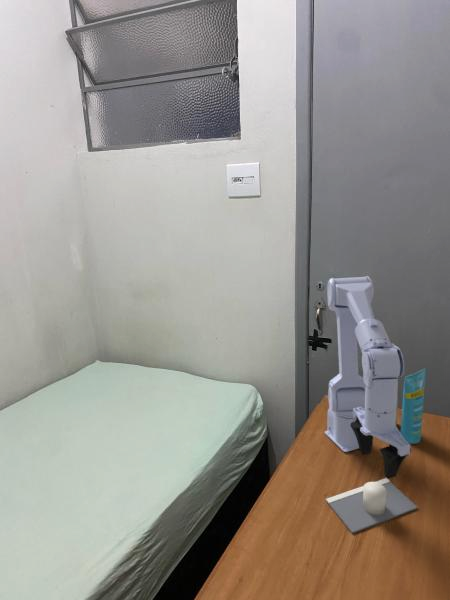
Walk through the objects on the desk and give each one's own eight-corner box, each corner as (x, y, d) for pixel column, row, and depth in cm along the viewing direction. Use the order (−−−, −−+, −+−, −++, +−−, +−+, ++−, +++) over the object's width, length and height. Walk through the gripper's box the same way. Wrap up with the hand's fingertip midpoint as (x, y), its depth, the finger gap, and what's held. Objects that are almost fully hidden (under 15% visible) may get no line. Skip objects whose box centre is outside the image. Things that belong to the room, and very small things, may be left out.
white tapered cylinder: (358, 502, 87) (359, 485, 86) (375, 496, 88) (376, 479, 87) (372, 518, 83) (372, 499, 82) (389, 511, 84) (390, 493, 83)
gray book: (325, 500, 89) (325, 498, 88) (385, 479, 93) (385, 477, 93) (352, 533, 80) (352, 531, 80) (417, 508, 85) (417, 506, 85)
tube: (410, 448, 103) (415, 380, 98) (393, 439, 107) (397, 373, 102) (427, 437, 107) (432, 370, 102) (410, 429, 111) (414, 364, 106)
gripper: (340, 393, 85) (340, 449, 89) (389, 430, 72) (385, 494, 76) (369, 386, 87) (367, 440, 91) (421, 421, 74) (416, 483, 78)
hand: (377, 464), depth 83 cm, fingers open, 7 cm apart
